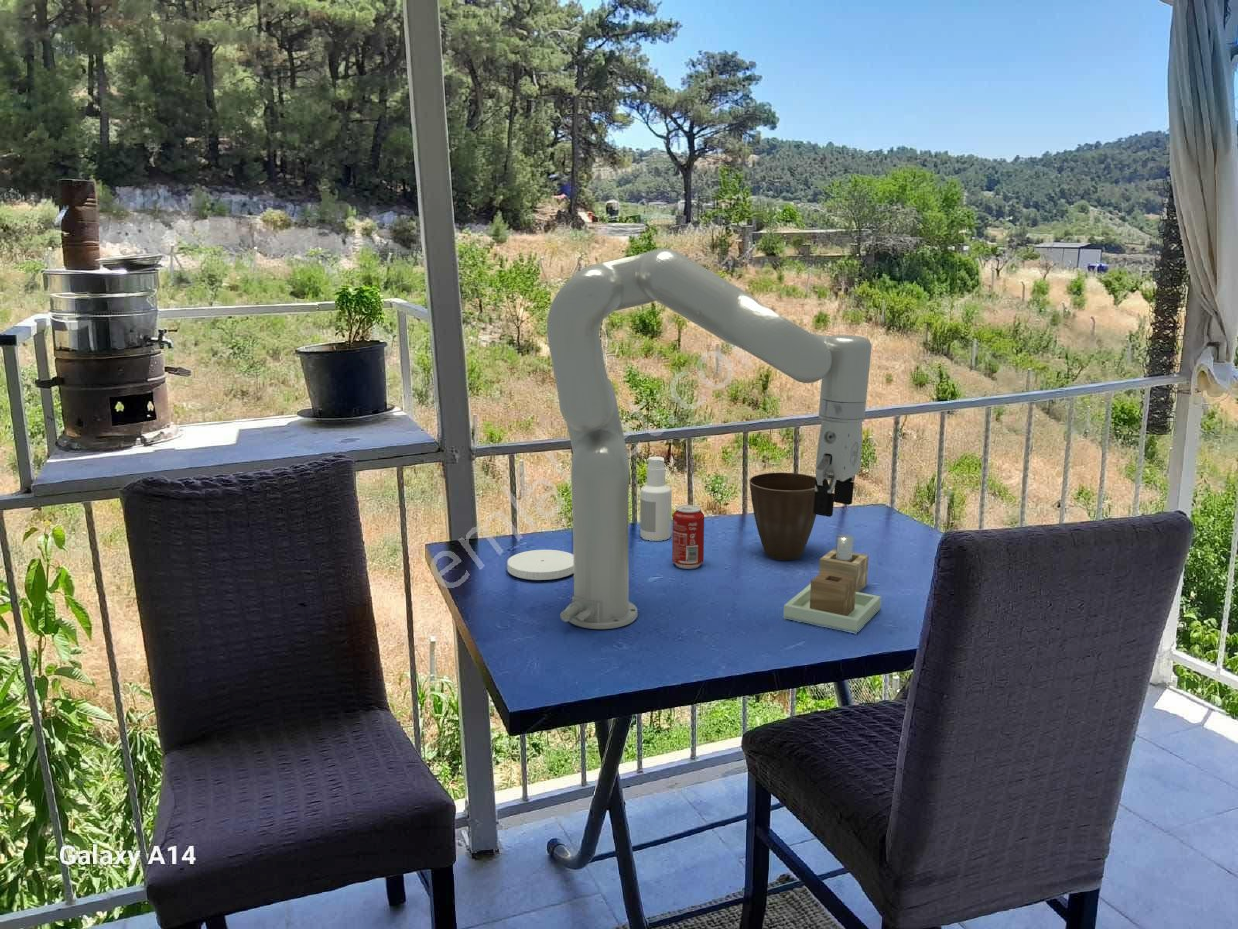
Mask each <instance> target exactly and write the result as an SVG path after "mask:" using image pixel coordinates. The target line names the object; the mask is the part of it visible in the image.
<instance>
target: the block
mask: <svg viewBox="0 0 1238 929" xmlns="http://www.w3.org/2000/svg"><path fill="white" fill-rule="evenodd" d="M810 584H811V591H810V609H815V610H819V611H824V612H829V613H834V614H839V615H844V616H848V615H849V614H850V613H851V612H852V611H853V610H854V607H855V590H856V577H854V576H849V575H844V574H838V573H833V572H827V571H822V572H821V573H820V574H819V573H818V574H817V575H816V576H815V577H814V578H812V579H811V580H810Z"/></svg>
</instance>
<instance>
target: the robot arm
mask: <svg viewBox="0 0 1238 929" xmlns="http://www.w3.org/2000/svg"><path fill="white" fill-rule="evenodd" d="M653 302H657V303H659V304H661V305H662V306H664V307H665V308H667V309H669V310H671V311H672V312H674V313H676V314H678V315H680V316H681V317H683V318H684V319H686V320H688V321H690V322H691V323H694V324H695V325H697V326H698V327H699V328H702V329H703V330H705V331H706V332H709V333H710V334H712V335H714V336H715V337H717V338H719V339H720V340H722V341H724V342H726V343H728V344H730V345H733V346H735V347H737V348H740V349H741V350H743V351H744V352H745V351H746V352H747V353H748V354H750V355H752V356H754V357H755V358H757V359H758V360H760V361H762V362H765V363H766V364H767V365H769V366H771V367H773V368H775V369H776V370H778V371H779V372H781V373H782V374H784V375H786V376H788V377H790V378H791V379H793V380H795V381H796V382H799V383H802V384H811V383H812V384H813V383H816V382H819V381H820V380H821V381H820V382H821V384H820V385H821V386H820V396H819V406H818V407H819V408H818V418H819V419H821V424H820V430H819V437H818V444H817V452H816V461H815V472H814V473H815V477H816V479H815V484H816V485H815V497H814V509H813V513H814V514H816V516H822V517H823V516H824V517H828V518H831V517H832V516H833V514H834V506H835V505H834V504H835V503H837V504H844V505H847V506H848V505H849V506H850V505H851V504H852V503H853V496H854V484H855V479H856V477H855V475H858V473H859V472H860V471H861V466H862V452H863V451H862V449H863V447H862V446H863V422H865V416H866V407H867V398H868V397H867V395H868V386H869V377H870V365H871V357H872V343H871V340H869V339H868V338H867V337H865V336H860V335H853V334H852V335H849V334H835V335H823V334H816V333H811V332H809V331H808V330H806V329H804V328H802V327H801V326H799V325H798V324H796V323H794V322H792V321H791V320H789V319H788V318H786V317H784V316H783V315H781V314H779V313H778V312H776V311H775V310H773V309H771V308H769V307H768V306H766V305H765V304H763V303H762V302H760V300H758V299H757V298H755V297H754V296H752V295H751V294H750V293H748V292H746V291H745V290H744V289H742V288H740V287H738V286H736V285H735V284H733V283H732V282H730V281H728V280H726V279H724V278H723V277H721V276H719V275H718V274H716V273H714V272H713V271H711V270H709V269H708V268H706V267H704V266H703V265H701V264H700V263H698V262H696V261H694V260H693V259H691V258H689V257H687V255H684V254H682V253H681V252H679V251H677V250H674V249H672V248H656V249H653V250H650V251H647V252H642V253H640V254H636V255H631V256H627V257H622V258H617V259H614V260H608V261H604V262H600V263H594V264H590V265H587V266H585V267H583V268H582V269H580V270H579V271H578V272H576V273H575V274H574V275H573V276H572V277H570V279H568V281H566V283H565V284H564V285H562V287H560V289H559V290H558V292H557V293H556V295H555V296H554V298H553V300H552V303H551V304H550V308H549V311H548V314H547V322H546V334H547V344H548V349H549V352H550V359H551V363H552V371H553V375H554V380H555V384H556V389H557V394H558V405H559V410H560V413H561V416H562V418H563V419H564V421H565V422H566V426H567V431H568V432H567V433H568V436H569V440H570V444H571V445H570V446H571V448H572V453H573V454H572V458H571V459H572V460H571V461H572V462H571V466H570V468H571V469H570V470H571V471H570V474H571V475H570V481H571V482H570V483H571V501H572V508H571V509H572V544H573V545H572V546H573V548H572V551H573V552H572V555H573V560H574V573H573V596H572V597H571V603H570V604H569V605H567V606H566V608H565V609H563V610H562V611H561V612H560V613H559V616H560V619H561V620H562V621H563V622H564V623H565V622H566V623H567V622H569V623H570V624H573V625H575V626H577V627H580V628H583V629H592V630H609V629H617V628H621V627H624V626H627V625H630V624H632V623H633V622H634V621H635V620H636V619H637V618H638V607H637V606H636V605H635V604H634V603H633V602H631V601H629V600H630V599H629V587H630V586H629V581H630V580H629V577H630V575H629V572H630V571H629V568H630V567H629V558H630V557H629V556H630V555H629V552H630V551H629V548H630V547H629V546H630V545H629V544H630V543H629V542H630V541H629V540H630V539H629V538H630V536H629V498H630V496H629V494H630V465H629V464H630V463H629V455H628V450H627V444H626V440H625V436H624V431H623V426H622V422H621V417H620V411H619V406H618V402H617V397H616V390H615V387H614V385H613V383H612V382H611V380H610V379H609V378H608V377H609V376H608V374H607V369H606V366H605V365H606V364H605V360H604V352H603V347H602V343H601V338H600V329H601V325H602V323H603V321H604V319H606V318H607V317H608V316H610V315H611V314H613V313H614V312H616V311H620V310H624V309H630V308H634V307H638V306H642V305H647V304H650V303H651V304H652V303H653Z"/></svg>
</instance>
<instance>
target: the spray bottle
mask: <svg viewBox="0 0 1238 929" xmlns="http://www.w3.org/2000/svg"><path fill="white" fill-rule="evenodd" d="M647 462H648V463H647V464H648V465H647V467H646V469H647V470H646V484H645V485H643V486H641V488H640V490H639V491H640V503H639V504H640V505H639V506H640V507H639V508H640V511H639V512H640V514H639V515H640V517H639V518H640V519H639V520H640V522H644V523H639V524H640V530H639V531H640V532H639V533H640V534H639V535H640V538H641V537H642V538H641V539H643V540H645V541H648V540H649V541H650V542H663V540H664V541H666V540H667V539H668V540H670V539H671V538H672V537H671V536H672V487H670V486H668V485H667V484H666V467H665V459H664V457H663V456H650V457H648V461H647ZM668 540H667V541H668Z"/></svg>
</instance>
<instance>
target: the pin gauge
mask: <svg viewBox="0 0 1238 929" xmlns="http://www.w3.org/2000/svg"><path fill="white" fill-rule="evenodd" d="M835 543H836V545H835V546H836V547H835V550H836V560H841V561H847V562H852V553H854V551H853V547H854V536H853V535H849V534H837V535H836V542H835Z"/></svg>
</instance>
